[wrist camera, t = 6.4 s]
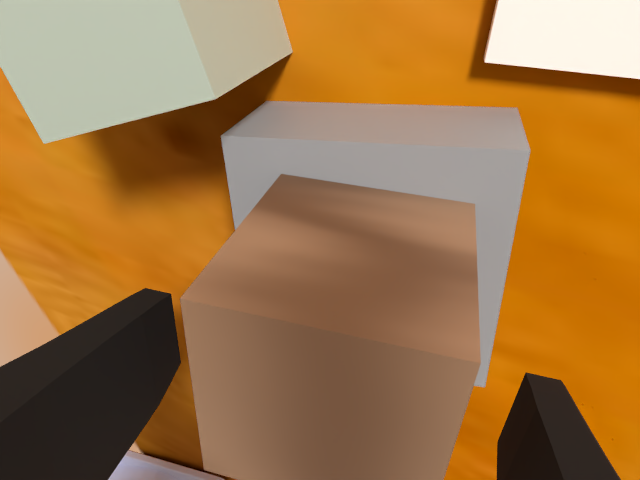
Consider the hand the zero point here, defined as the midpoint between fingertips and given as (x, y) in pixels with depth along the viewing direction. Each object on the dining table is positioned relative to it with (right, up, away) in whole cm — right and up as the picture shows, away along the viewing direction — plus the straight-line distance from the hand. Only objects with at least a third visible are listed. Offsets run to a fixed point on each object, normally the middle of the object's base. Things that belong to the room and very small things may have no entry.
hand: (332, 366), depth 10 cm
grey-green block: (-4, +9, +3) cm, 11 cm away
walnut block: (+1, +2, +3) cm, 3 cm away
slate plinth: (+2, +3, +6) cm, 7 cm away
